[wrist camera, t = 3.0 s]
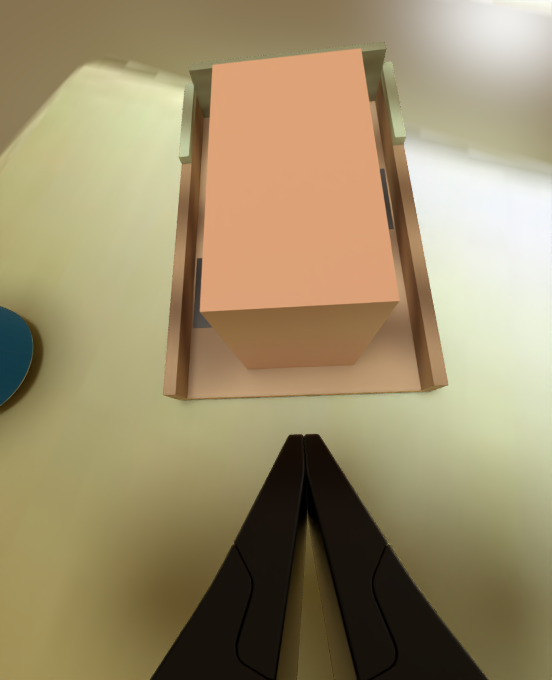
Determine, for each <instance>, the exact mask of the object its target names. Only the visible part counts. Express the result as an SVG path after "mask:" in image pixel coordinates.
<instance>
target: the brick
mask: <svg viewBox="0 0 552 680" xmlns="http://www.w3.org/2000/svg"><path fill="white" fill-rule="evenodd" d="M399 301H400V300H399V294H398V287H397V280H396V274H395V267H394V261H393V254H392V248H391V241H390V235H389V228H388V221H387V215H386V208H385V202H384V195H383V189H382V182H381V176H380V169H379V162H378V156H377V149H376V143H375V136H374V130H373V123H372V117H371V110H370V103H369V97H368V90H367V84H366V77H365V71H364V64H363V58H362V51H361V48H359V49H350V50H341V51H332V52H323V53H314V54H305V55H296V56H287V57H278V58H269V59H260V60H251V61H242V62H233V63H224V64H215V65H212V84H211V103H210V123H209V142H208V161H207V181H206V200H205V219H204V239H203V258H202V278H201V297H200V313H201V314H202V315H203V316H204V318H205V319H206V320H207V321H208V322H209V324H210V325H211V326H212V327H213V328H214V330H215V331H216V332H217V333H218V334H219V336H220V337H221V338H222V339H223V341H224V342H225V343H226V344H227V345H228V347H229V348H230V349H231V350H232V351H233V353H234V354H235V355H236V356H237V357H238V359H239V360H240V361H241V362H242V363H243V365H244V366H245V367H246V368H247V369H270V368H295V367H319V366H344V365H354V364H355V363H356V361H357V360H358V358H359V357H360V356H361V354H362V353H363V351H364V350H365V349H366V347H367V346H368V344H369V343H370V342H371V340H372V339H373V337H374V336H375V335H376V333H377V332H378V331H379V329H380V328H381V326H382V325H383V324H384V322H385V321H386V319H387V318H388V317H389V315H390V314H391V312H392V311H393V310H394V308H395V307H396V305H397V304H398V303H399Z"/></svg>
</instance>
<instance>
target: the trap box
mask: <svg viewBox="0 0 552 680" xmlns="http://www.w3.org/2000/svg"><path fill="white" fill-rule="evenodd" d="M359 48H361V51H362V58H363V64H364V71H365V77H366V84H367V90H368V97H369V103H370V110H371V117H372V123H373V130H374V136H375V143H376V149H377V156H378V162H379V169H380V176H381V182H382V189H383V195H384V202H385V208H386V215H387V221H388V228H389V235H390V241H391V248H392V254H393V261H394V267H395V274H396V280H397V287H398V294H399V300H400V301H399V303H398V304H397V305H396V307H395V308H394V310H393V311H392V312H391V314H390V315H389V317H388V318H387V319H386V321H385V322H384V324H383V325H382V326H381V328H380V329H379V331H378V332H377V333H376V335H375V336H374V337H373V339H372V340H371V342H370V343H369V344H368V346H367V347H366V349H365V350H364V351H363V353H362V354H361V356H360V357H359V358H358V360H357V361H356V363H355V364H354V365H344V366H319V367H295V368H270V369H247V368H246V367H245V366H244V365H243V363H242V362H241V361H240V360H239V359H238V357H237V356H236V355H235V354H234V353H233V351H232V350H231V349H230V348H229V347H228V345H227V344H226V343H225V342H224V341H223V339H222V338H221V337H220V336H219V334H218V333H217V332H216V331H215V330H214V328H213V327H212V326H211V325H210V324H209V322H208V321H207V320H206V319H205V318H204V316H203V315H202V314H201V313H200V297H201V278H202V258H203V239H204V219H205V200H206V181H207V161H208V142H209V123H210V103H211V84H212V65H215V64H224V63H233V62H242V61H251V60H260V59H269V58H278V57H287V56H296V55H305V54H314V53H323V52H332V51H341V50H350V49H359ZM385 52H386V45H385V42H381V43H371V44H362V45H354V46H344V47H335V48H327V49H317V50H308V51H299V52H290V53H282V54H272V55H263V56H255V57H246V58H237V59H228V60H219V61H210V62H201V63H193V64H190V66H189V72H190V75H191V78H192V82H193V83H188V84H185V91H184V102H183V114H182V125H181V137H180V148H179V159H180V161H181V163H182V169H181V181H180V193H179V205H178V218H177V230H176V242H175V254H174V266H173V279H172V291H171V303H170V315H169V327H168V339H167V352H166V364H165V376H164V388H163V395H164V396H168V397H171V398H175V399H178V400H193V399H222V398H252V397H281V396H311V395H340V394H370V393H399V392H428V391H433V390H436V389H438V388H441V387H444V386H447V385H448V381H447V375H446V370H445V364H444V359H443V354H442V348H441V343H440V338H439V332H438V327H437V322H436V316H435V311H434V305H433V300H432V295H431V289H430V284H429V279H428V273H427V268H426V263H425V257H424V252H423V246H422V241H421V236H420V230H419V225H418V220H417V214H416V209H415V204H414V198H413V193H412V187H411V182H410V177H409V171H408V166H407V161H406V155H405V150H404V145H403V144H404V141H405V138H406V133H405V127H404V122H403V117H402V112H401V107H400V102H399V96H398V91H397V86H396V80H395V76H394V70H393V65H392V62H384V63H383V61H384V57H385Z"/></svg>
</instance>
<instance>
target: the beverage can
mask: <svg viewBox="0 0 552 680" xmlns="http://www.w3.org/2000/svg"><path fill="white" fill-rule="evenodd" d="M32 356H33V338H32V334H31V331H30V329H29V327H28V325H27V323H26V322H25V321H24V320H23V319H22V318H21V317H20V316H19V315H18V314H16V313H15V312H13V311H10V310H8V309H6V308H4V307H1V306H0V406H1V405H2V404H4V403H5V402H6V401H7V400H8V399H9V398H10V397H11V396H12V395H13V394H14V393H15V392H16V390H17V389H18V388H19V387H20V385H21V384H22V382H23V381H24V379H25V377H26V375H27V373H28V370H29V368H30V365H31V361H32Z"/></svg>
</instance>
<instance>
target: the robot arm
mask: <svg viewBox="0 0 552 680" xmlns="http://www.w3.org/2000/svg"><path fill="white" fill-rule="evenodd" d="M304 448H305V450H304ZM306 490H307V493H306ZM307 510H308V521H309V528H310V535H311V541H312V547H313V553H314V559H315V565H316V571H317V577H318V583H319V590H320V596H321V602H322V608H323V614H324V620H325V626H326V632H327V638H328V645H329V651H330V657H331V663H332V669H333V675H334V680H488V678H487V677H486V676H485V674H484V673H483V672H482V671H481V669H480V668H479V667H478V665H477V664H476V663H475V662H474V660H473V659H472V658H471V656H470V655H469V654H468V653H467V651H466V650H465V649H464V647H463V646H462V645H461V644H460V642H459V641H458V640H457V638H456V637H455V636H454V635H453V633H452V632H451V631H450V629H449V628H448V627H447V626H446V624H445V623H444V622H443V620H442V619H441V618H440V617H439V615H438V614H437V613H436V611H435V610H434V609H433V607H432V606H431V605H430V603H429V602H428V601H427V599H426V598H425V597H424V595H423V594H422V593H421V591H420V590H419V589H418V587H417V586H416V584H415V583H414V581H413V580H412V578H411V577H410V575H409V574H408V572H407V571H406V569H405V568H404V567H403V565H402V564H401V562H400V561H399V559H398V557H397V556H396V554H395V553H394V551H393V550H392V548H391V546H390V545H387V540H386V539H385V537H384V536H383V534H382V533H381V531H380V529H379V528H378V526H377V525H376V523H375V522H374V520H373V518H372V517H371V515H370V514H369V512H368V511H367V509H366V507H365V506H364V504H363V503H362V501H361V500H360V498H359V496H358V495H357V493H356V492H355V490H354V489H353V487H352V485H351V484H350V482H349V481H348V479H347V478H346V476H345V474H344V473H343V471H342V470H341V468H340V467H339V465H338V463H337V462H336V460H335V459H334V457H333V456H332V454H331V452H330V451H329V449H328V448H327V446H326V445H325V443H324V441H323V440H322V438H321V437H320V435H318V434H306V435H305V436H303V435H302V434H296V435H289V436H288V438H287V439H286V441H285V443H284V445H283V447H282V449H281V451H280V453H279V455H278V457H277V459H276V461H275V463H274V465H273V467H272V469H271V471H270V473H269V475H268V477H267V478H266V480H265V482H264V484H263V486H262V488H261V490H260V492H259V494H258V496H257V498H256V500H255V502H254V504H253V506H252V508H251V510H250V512H249V514H248V516H247V517H246V519H245V521H244V523H243V525H242V527H241V529H240V531H239V533H238V535H237V537H236V539H235V541H234V545H232V546H231V548H230V550H229V552H228V554H227V556H226V558H225V560H224V562H223V564H222V566H221V567H220V569H219V571H218V573H217V575H216V576H215V578H214V580H213V582H212V584H211V585H210V587H209V589H208V590H207V592H206V594H205V595H204V597H203V598H202V600H201V602H200V603H199V605H198V606H197V608H196V610H195V611H194V613H193V614H192V616H191V617H190V619H189V620H188V622H187V624H186V625H185V627H184V628H183V630H182V631H181V633H180V634H179V636H178V637H177V639H176V640H175V642H174V643H173V645H172V647H171V648H170V650H169V651H168V653H167V654H166V656H165V657H164V659H163V660H162V662H161V663H160V665H159V666H158V668H157V670H156V671H155V673H154V674H153V676H152V677H151V679H150V680H297V670H298V655H299V640H300V625H301V610H302V596H303V581H304V566H305V551H306V536H307Z"/></svg>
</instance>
